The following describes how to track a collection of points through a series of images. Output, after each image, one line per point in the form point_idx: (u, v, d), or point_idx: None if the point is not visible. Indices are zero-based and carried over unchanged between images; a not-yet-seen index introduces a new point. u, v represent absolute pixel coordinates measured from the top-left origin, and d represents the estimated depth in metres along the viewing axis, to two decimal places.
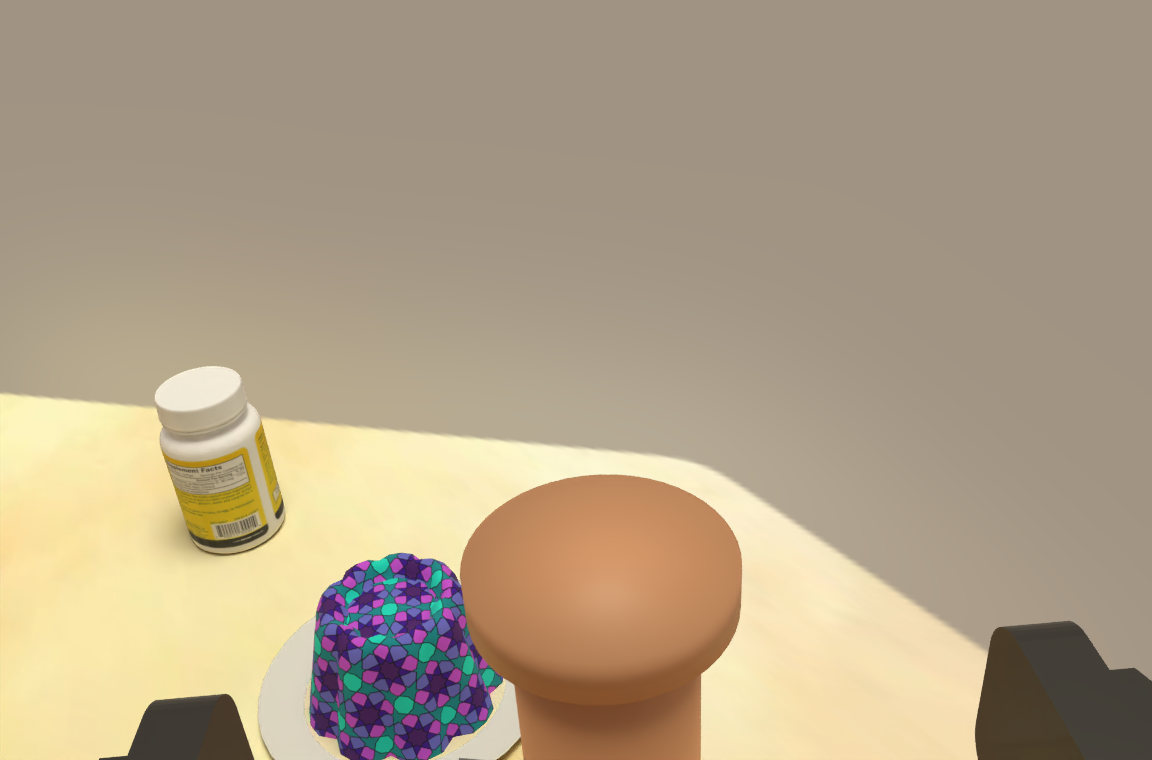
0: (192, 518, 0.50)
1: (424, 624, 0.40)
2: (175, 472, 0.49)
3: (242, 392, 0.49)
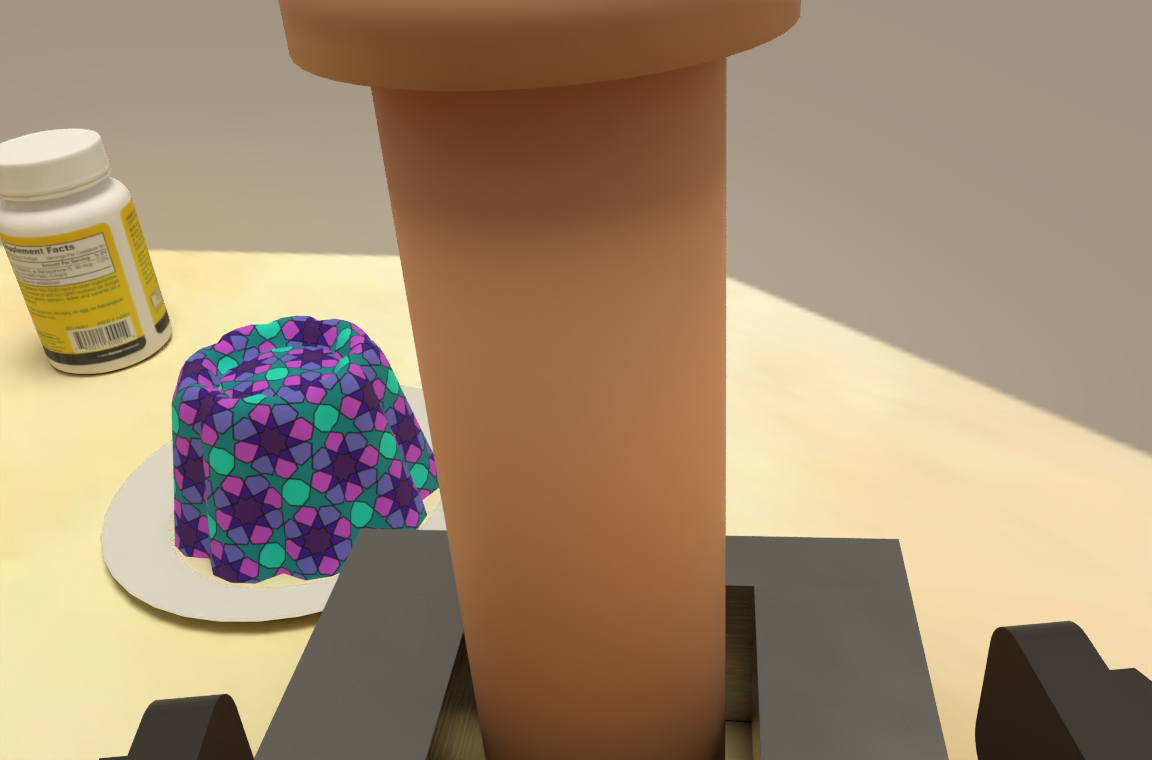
0: (43, 324, 0.39)
1: (322, 380, 0.28)
2: (15, 256, 0.38)
3: (101, 152, 0.38)
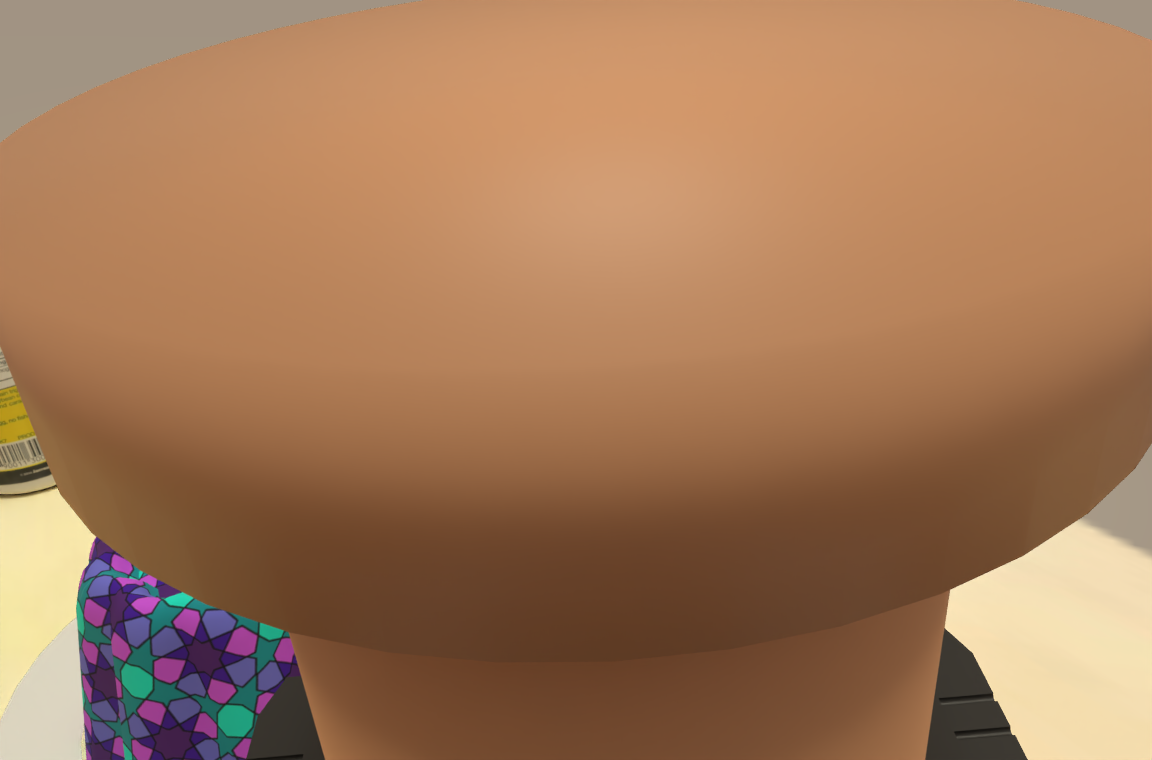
0: None
1: None
2: None
3: None
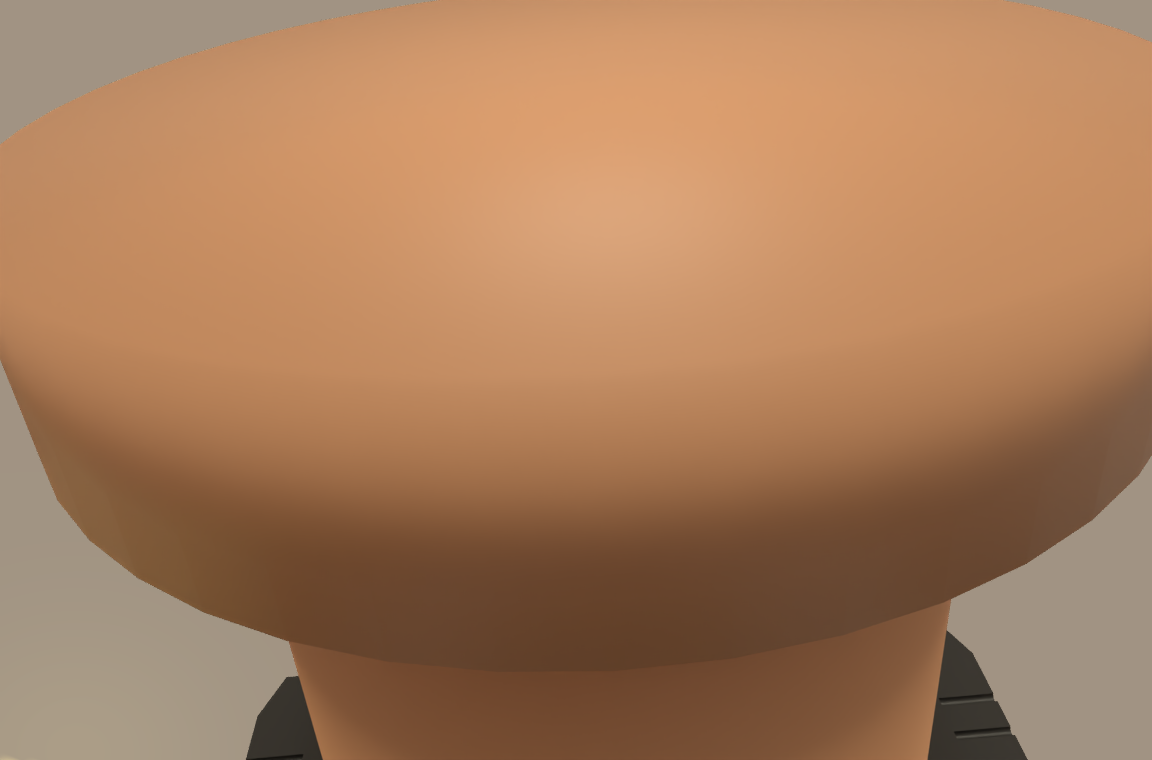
0: None
1: None
2: None
3: None
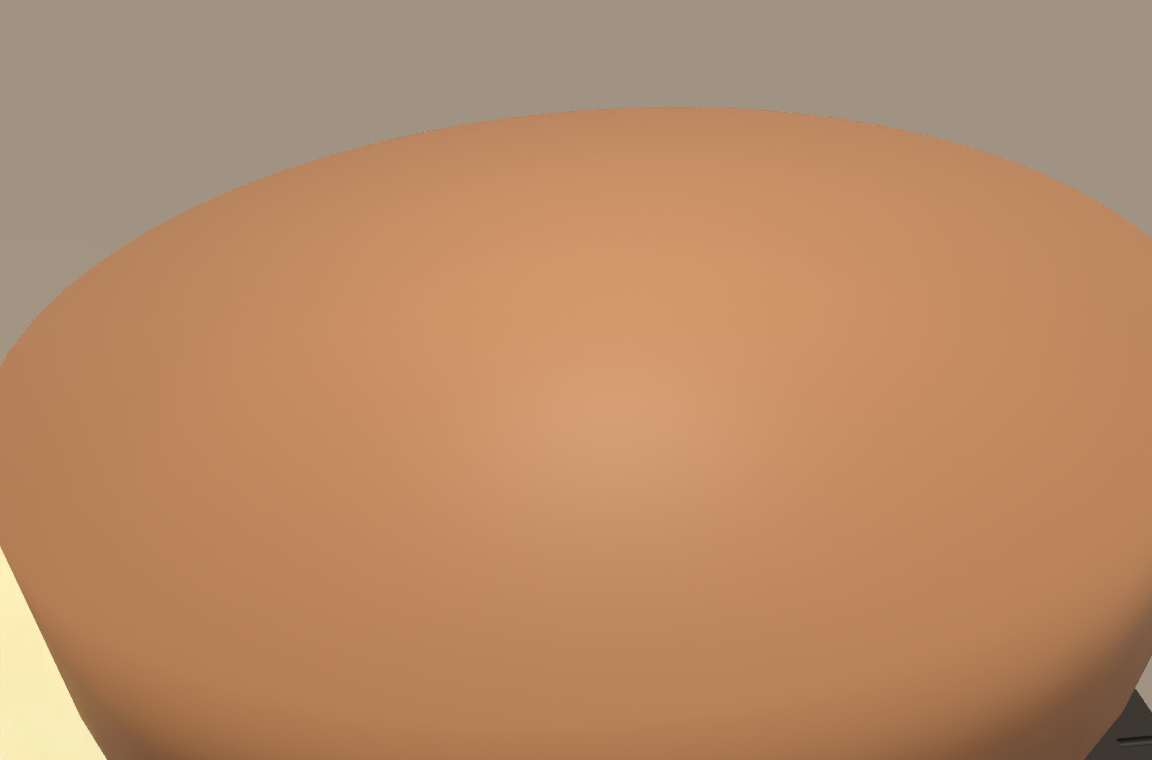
0: None
1: None
2: None
3: None
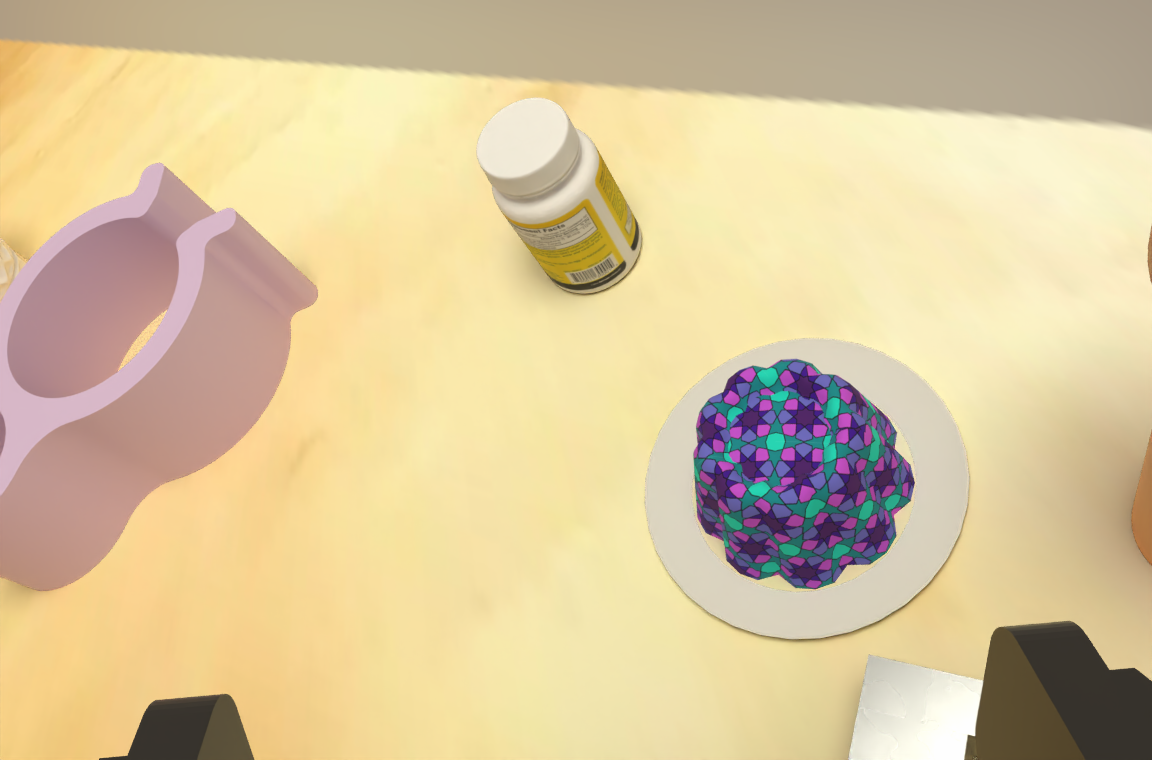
0: (544, 265, 0.46)
1: (813, 479, 0.34)
2: (517, 229, 0.43)
3: (572, 136, 0.41)
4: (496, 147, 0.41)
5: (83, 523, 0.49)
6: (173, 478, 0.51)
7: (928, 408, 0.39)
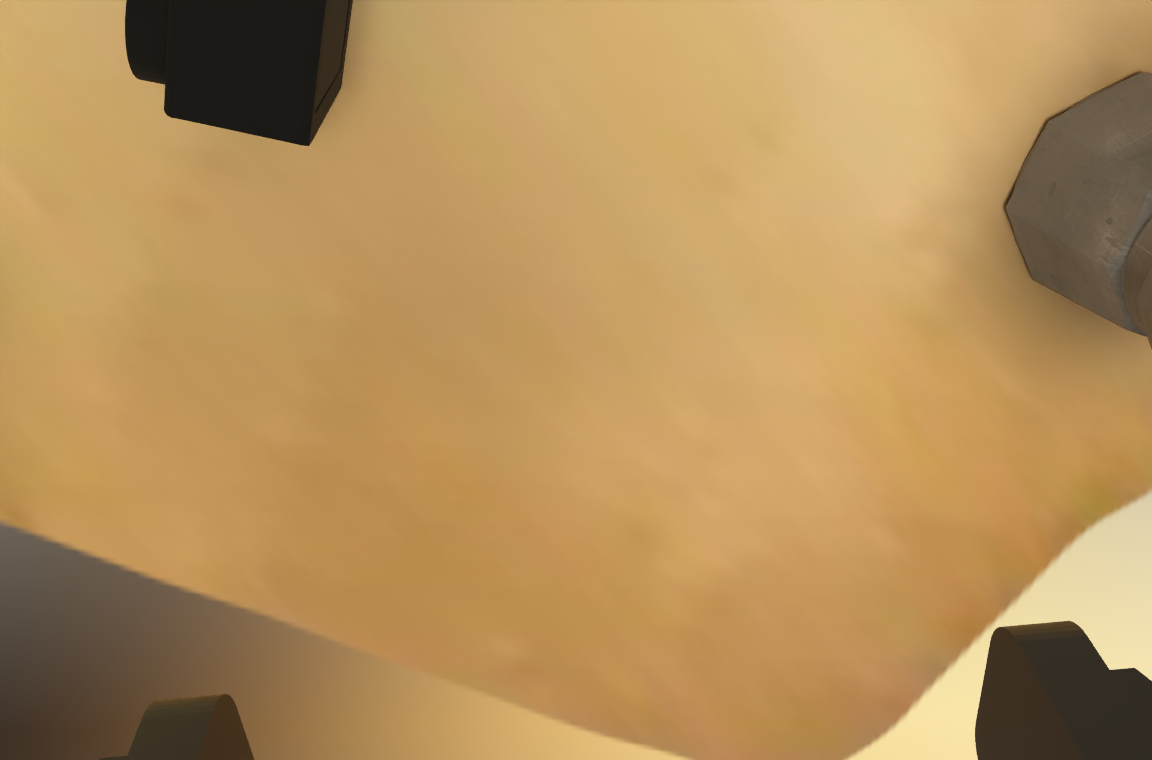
0: None
1: None
2: None
3: None
4: None
5: None
6: None
7: None
